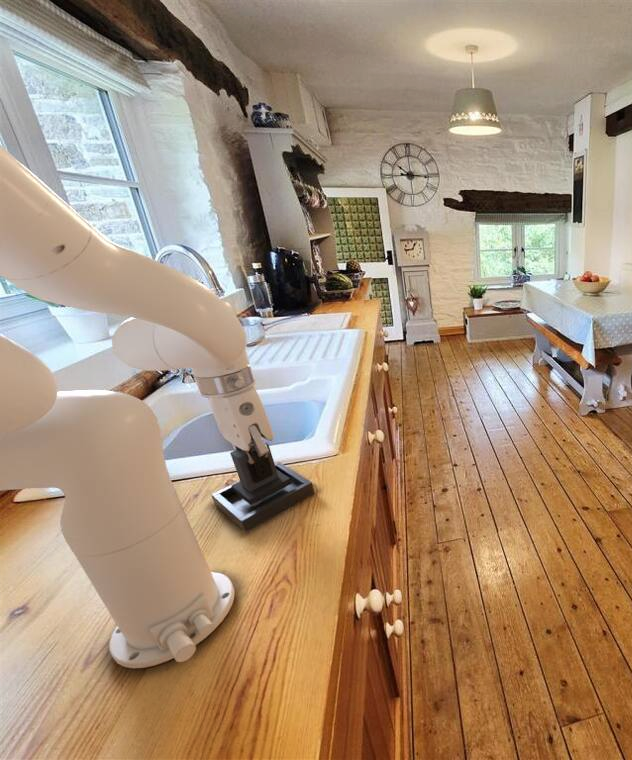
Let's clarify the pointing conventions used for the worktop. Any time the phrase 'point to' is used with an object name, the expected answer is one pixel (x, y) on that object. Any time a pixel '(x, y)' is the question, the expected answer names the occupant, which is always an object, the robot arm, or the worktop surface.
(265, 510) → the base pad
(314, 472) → the worktop surface
